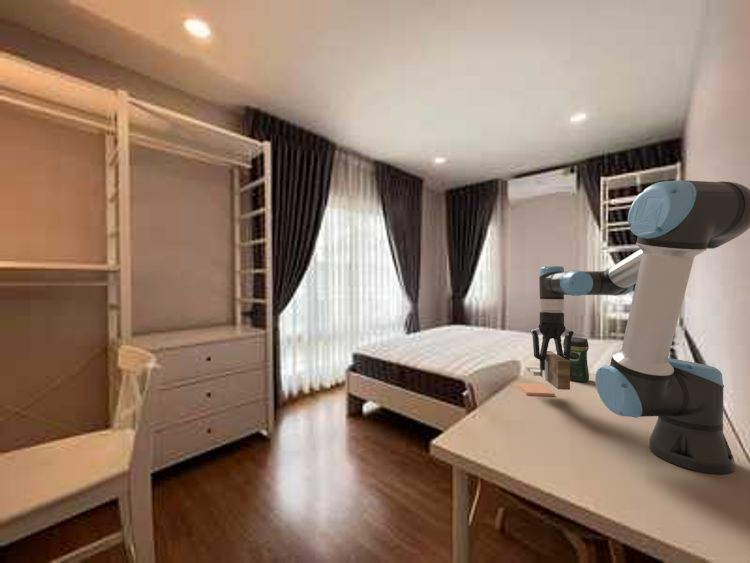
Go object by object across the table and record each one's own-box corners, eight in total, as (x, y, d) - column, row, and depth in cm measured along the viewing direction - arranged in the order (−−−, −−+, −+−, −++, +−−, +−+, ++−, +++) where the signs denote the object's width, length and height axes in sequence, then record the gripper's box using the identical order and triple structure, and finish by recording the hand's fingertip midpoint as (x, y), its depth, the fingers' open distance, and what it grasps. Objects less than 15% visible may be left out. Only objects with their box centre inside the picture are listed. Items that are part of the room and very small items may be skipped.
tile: (554, 393, 127) (542, 384, 139) (526, 392, 129) (517, 383, 141) (554, 397, 127) (542, 387, 139) (526, 396, 129) (517, 386, 141)
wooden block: (577, 390, 106) (577, 361, 106) (550, 389, 107) (550, 360, 108) (547, 369, 132) (546, 346, 132) (525, 368, 133) (525, 345, 133)
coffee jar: (590, 379, 149) (590, 337, 149) (586, 383, 144) (586, 339, 144) (566, 375, 156) (566, 335, 156) (561, 379, 150) (561, 337, 150)
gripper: (572, 310, 120) (572, 377, 120) (523, 310, 122) (523, 375, 122) (582, 312, 112) (582, 384, 112) (529, 312, 114) (529, 381, 114)
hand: (551, 379), depth 117 cm, fingers closed on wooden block, 3 cm apart
